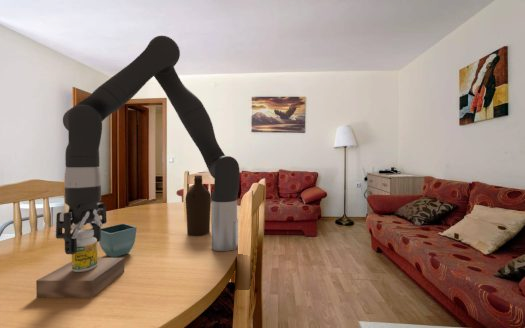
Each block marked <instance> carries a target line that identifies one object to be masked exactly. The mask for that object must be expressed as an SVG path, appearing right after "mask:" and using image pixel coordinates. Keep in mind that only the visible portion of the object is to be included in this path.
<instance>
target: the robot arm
mask: <svg viewBox="0 0 525 328" xmlns="http://www.w3.org/2000/svg"><path fill="white" fill-rule="evenodd" d="M180 52H181V49H180V47H179V45H178V44H177V42H176V41H175V40H174V39H173V38H171V37H169V36H166V35H157V36H155V37H153V38H152V39H151V40H150V41H149V43H148V44H147V46H146V47H145V49H144V50H143V51H142V52H141V53H140V54H139V55H138V56H137V57H136V58H134V59H133V60H132V61H131V62H130V63H129V64H128V65H126V66H125V67H124V68H122V69H121V70H119V72H117V73H116V74H114V75H113V76H111V77H110V78H109V79H108V80H106V81H105V82H104V83H102V84H101V85H100V86H98V87H97V88H96V89H95V90H93V92H92V93H91V94H90V95H89V96H87V97H86V98H84V99H82V100H81V101H79V102H78V103H76V104H75V105H74V106H72V107H71V108H70V109H68V110H66V112H65V113H64V114H63V116H62V124H63V126H64V128H65V129H66V130H67V131H68V144H67V146H66V147H65V155H64V156H65V170H64V171H65V172H64V179H63V180H64V204H65V205H67V206H68V207H69V208H68V210H67V212H66V211H65V212H57V213H56V222H55V223H56V225H55V239H57V240H58V239H61V240H64V252H65V254H66V255H72V254H75V253H76V252H77V238H76V236H77V234H78V232H79V231H80V230H83V228H84V226H86V225H87V224H88V225H89V226H90V227H91V228H90V229H93V230H94V235H93V237H95V238H96V239H97V243H98V242H99V241H100V240H101V228H102V227H103V225H105V224H106V223H107V204H106V202H101V201H102V176H101V174H102V173H101V170H100V169H101V167H100V145H101V140H102V133H103V132H102V131H103V121H104V120H105V119H107V117H109V116H110V115H112V114H114V113H116V112H118V111H119V110H120V109H121V108H122V107H123V106H125V105H126V104H127V103H128V102H129V101H131V99H132V98H133V97H135V96H136V95H137V94H138V92H139V91H140V90H141V89H142V88H143V87H144V86H145V85H146V84H147V82H149V81H150V80H151V79H152V78H153V77H154V78H155V80H156V81H157V83H158V84H159V85H160V87H161V88H162V91H163V92H164V93H165V95H166V97H167V98H168V101H169V102H170V104H171V105H172V107H173V109H174V111H175V112H176V114H177V116H178V118H179V120H180V122H181V123H182V125H183V127H184V128H185V130H186V131H187V134H188V135H189V136H190V138H191V140H192V141H193V143H194V144H195V146H196V147H197V149H198V151H199V152H200V155H201V157H202V158H203V160H204V163H205V165H206V168H207V170H208V172H209V174H210V175H211V177H212V178H213V179H214V181H213V182H214V186H213V187H214V188H213V191H212V193H211V194H210V195H211V249H212V250H214V251H216V252H229V251H233V250H234V251H235V250H237V247H238V245H239V219H238V194H239V191H240V178H241V177H240V165H239V163H238V162H239V161H237V159H236V158H234V157H233V156H230V155H226V154H225V153H224V151H223V149H222V148H221V147H220V145H219V143H218V141H217V138H216V134H215V130H214V126H213V123H212V122H213V121H212V119H211V117H210V115H209V113H208V111H207V109H206V108H205V105H204V104H203V102H202V101H201V100H200V99H199V97H197V95H195V94H194V93H193V92H192V91H191V90H190V89H188V88H187V87H186V86H185V84H184V83H183V82H182V80H181V79H180V77H179V75H178V73H177V71H176V69H175V66H176V64H177V63H178V61H179V60H180V56H181V53H180ZM100 216H101V217H100ZM63 229H64V232H63ZM237 244H238V245H237Z"/></svg>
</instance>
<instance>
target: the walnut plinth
mask: <svg viewBox="0 0 525 328" xmlns="http://www.w3.org/2000/svg"><path fill="white" fill-rule="evenodd" d="M97 259H98V264H97V266H96V267H95V268H93V269H91V270H88V271H84V272H74V271H73V270H72V261H70V262H69V263H66V264H64V265H63V266H61V267H59V268H57V269H55V270H53V271H51V272H50V273H48V274H46V275H44V276H42V277H40V278H38V279H37V280H36V281H35V282H36V285H35V286H36V298H37V297H40V298H41V297H43V299H44V297H45V299H46V298H56V299H57V298H58V299H59V298H60V299H61V298H68V299H69V298H72V299H73V298H74V299H75V298H78V299H80V298H82V299H83V298H85V299H87V298H88V299H89V298H90V299H92V298H94V297H95V296H97V295H98V294H99V293H100V292H101V291H103V290H104V289H105V288H106V287H107V286H108V285H110V284H111V283H113V282H114V281H115V280H116V279H117V278H118V277H120V276H121V275H122V274H123V273H125V257H115V258H113V257H97Z"/></svg>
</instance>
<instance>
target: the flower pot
mask: <svg viewBox="0 0 525 328" xmlns="http://www.w3.org/2000/svg"><path fill="white" fill-rule="evenodd" d="M136 235H137V226H135V225H130V224H127V223H120V224H119V223H118V224H114V225H111V226H107V227H103V228H102V227H101V240H100V241H99V246H100V248H101V249H102V251H103V252H104V254H105V255H106V256H108V257H110V258H119V257H121V256H124V255H127V254H129V253H130V252H131V251H132V249H133V248H134V245H135V242H136Z"/></svg>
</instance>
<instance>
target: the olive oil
mask: <svg viewBox="0 0 525 328" xmlns="http://www.w3.org/2000/svg"><path fill="white" fill-rule="evenodd" d="M193 180H194V184H193V185H192V186H191V187H190V189H188V190H187V192H186V195H185V212H186V231H187V232H186V233H187V235H188V236H192V237H201V236H206V235H209V234H210V232H211V231H210V229H211V227H210V225H211V224H210V223H211V207H212V200H211V195H212V194H211V193H210V191H209V190H208V189H207V188H206V187H205V185H204V184H203V175H200V174H199V175H197V174H195V175H194V179H193Z"/></svg>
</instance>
